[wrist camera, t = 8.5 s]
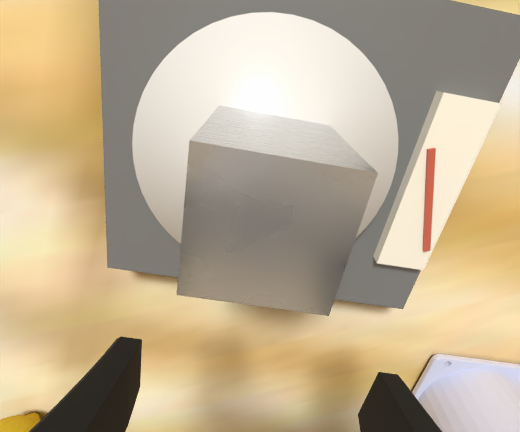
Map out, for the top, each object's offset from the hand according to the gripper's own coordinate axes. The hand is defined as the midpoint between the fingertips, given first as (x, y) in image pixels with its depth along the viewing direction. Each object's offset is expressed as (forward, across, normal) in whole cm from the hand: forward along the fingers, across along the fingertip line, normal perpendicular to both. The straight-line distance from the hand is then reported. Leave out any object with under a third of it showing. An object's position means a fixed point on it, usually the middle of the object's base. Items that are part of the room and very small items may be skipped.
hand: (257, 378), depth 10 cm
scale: (+10, 0, -5) cm, 11 cm away
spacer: (+6, +1, -5) cm, 8 cm away
